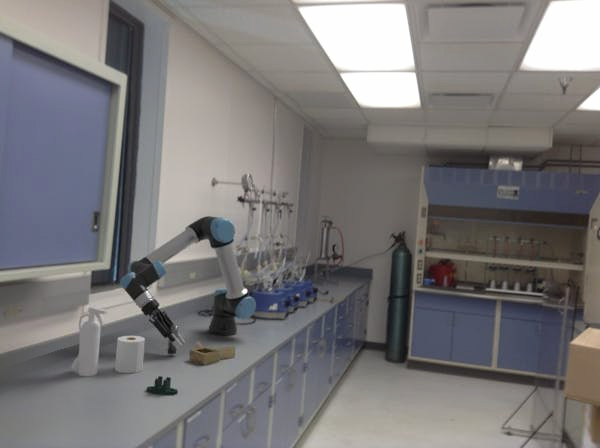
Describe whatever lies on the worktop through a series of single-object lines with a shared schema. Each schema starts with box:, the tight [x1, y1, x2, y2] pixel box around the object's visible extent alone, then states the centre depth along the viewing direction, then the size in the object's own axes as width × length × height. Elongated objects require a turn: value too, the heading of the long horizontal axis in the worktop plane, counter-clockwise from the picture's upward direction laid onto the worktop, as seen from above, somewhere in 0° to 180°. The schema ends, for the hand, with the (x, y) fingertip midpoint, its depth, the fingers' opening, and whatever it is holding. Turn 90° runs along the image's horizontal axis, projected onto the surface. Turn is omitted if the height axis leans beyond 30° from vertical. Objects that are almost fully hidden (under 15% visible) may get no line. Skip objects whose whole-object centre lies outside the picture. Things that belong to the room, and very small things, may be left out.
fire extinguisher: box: [70, 306, 109, 377], centre depth 196 cm, size 7×12×25 cm, turn 77°
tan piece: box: [189, 341, 236, 366], centre depth 232 cm, size 20×18×4 cm
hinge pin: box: [167, 324, 179, 355], centre depth 228 cm, size 4×4×12 cm
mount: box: [146, 375, 179, 396], centre depth 184 cm, size 11×4×5 cm, turn 85°
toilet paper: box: [114, 335, 146, 374], centre depth 205 cm, size 10×10×12 cm
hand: (181, 345), depth 228 cm, fingers closed on hinge pin, 3 cm apart
